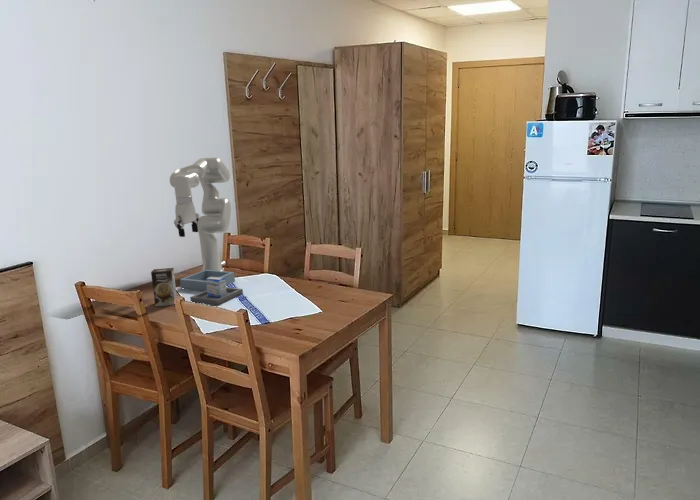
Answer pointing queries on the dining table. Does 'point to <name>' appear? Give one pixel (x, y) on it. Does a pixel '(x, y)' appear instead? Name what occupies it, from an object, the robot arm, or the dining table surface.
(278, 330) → the dining table surface
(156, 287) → the coffee box
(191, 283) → the deep square frame
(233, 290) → the tray
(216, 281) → the medicine box
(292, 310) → the dining table surface
